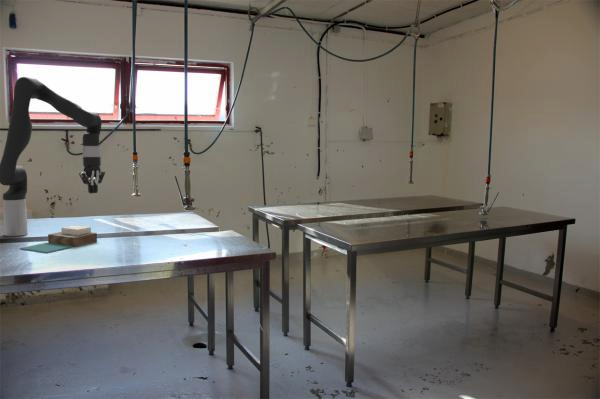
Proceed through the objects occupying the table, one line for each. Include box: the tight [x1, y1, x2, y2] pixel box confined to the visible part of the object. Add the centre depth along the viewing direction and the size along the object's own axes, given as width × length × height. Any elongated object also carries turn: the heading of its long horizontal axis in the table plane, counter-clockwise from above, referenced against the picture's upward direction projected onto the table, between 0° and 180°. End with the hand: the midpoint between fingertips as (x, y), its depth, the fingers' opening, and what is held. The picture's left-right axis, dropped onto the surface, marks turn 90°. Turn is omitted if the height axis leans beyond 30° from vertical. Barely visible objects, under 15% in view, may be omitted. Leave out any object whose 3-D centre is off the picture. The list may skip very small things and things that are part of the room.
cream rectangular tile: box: [61, 225, 92, 235], centre depth 207 cm, size 10×7×2 cm
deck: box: [47, 231, 98, 248], centre depth 205 cm, size 16×12×4 cm
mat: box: [19, 242, 74, 254], centre depth 193 cm, size 16×12×1 cm
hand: (93, 192), depth 215 cm, fingers closed
